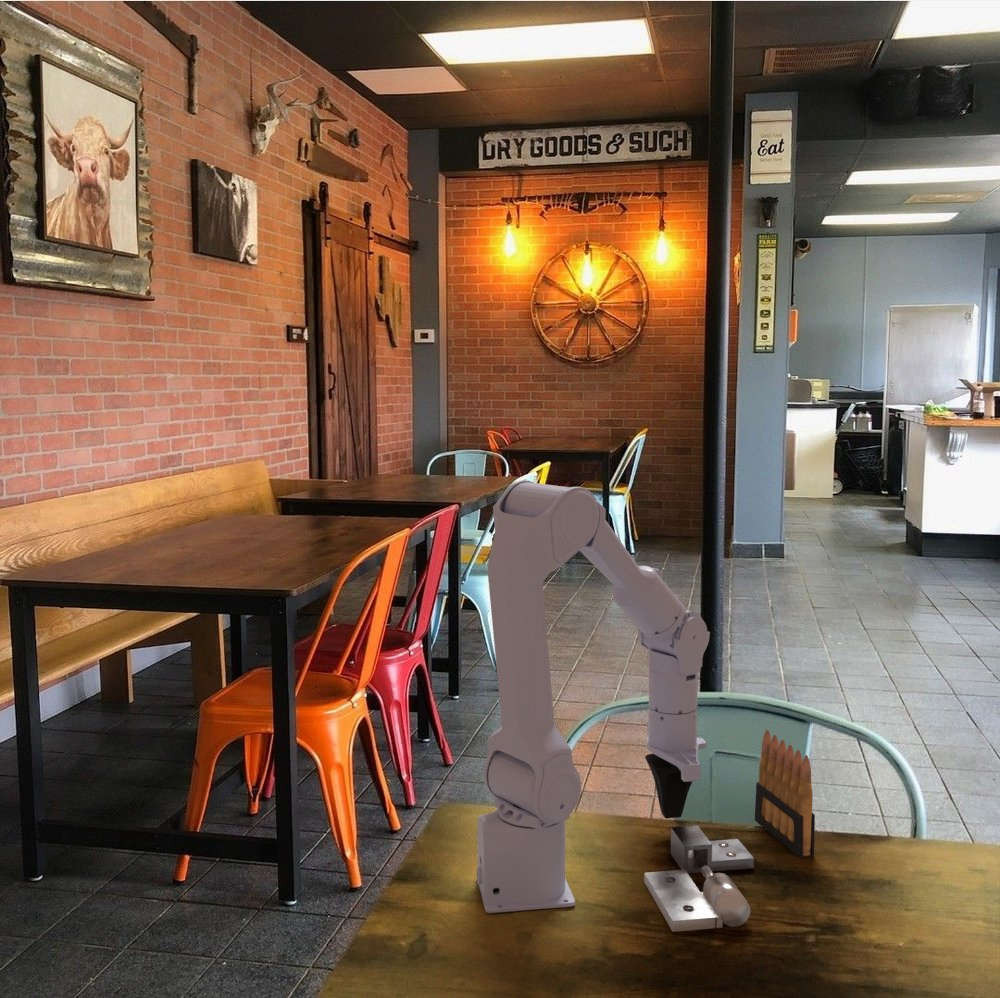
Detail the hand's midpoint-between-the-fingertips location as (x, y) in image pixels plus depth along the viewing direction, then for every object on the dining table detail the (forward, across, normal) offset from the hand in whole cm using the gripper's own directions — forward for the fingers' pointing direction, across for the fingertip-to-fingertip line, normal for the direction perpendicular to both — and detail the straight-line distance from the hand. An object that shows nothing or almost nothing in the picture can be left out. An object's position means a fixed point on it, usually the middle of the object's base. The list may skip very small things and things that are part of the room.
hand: (671, 815), depth 123 cm
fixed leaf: (+2, -16, +3) cm, 16 cm away
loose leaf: (+2, -7, -2) cm, 8 cm away
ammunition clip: (+3, -3, -13) cm, 14 cm away
